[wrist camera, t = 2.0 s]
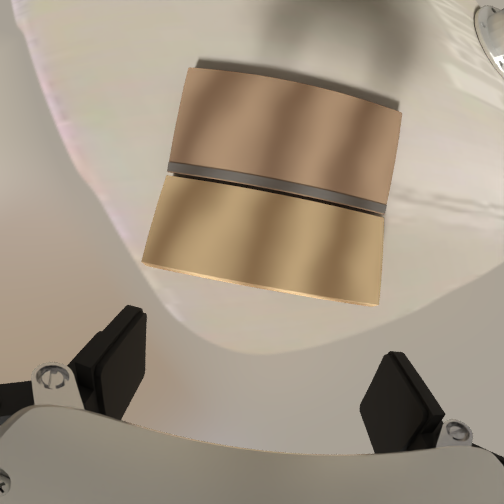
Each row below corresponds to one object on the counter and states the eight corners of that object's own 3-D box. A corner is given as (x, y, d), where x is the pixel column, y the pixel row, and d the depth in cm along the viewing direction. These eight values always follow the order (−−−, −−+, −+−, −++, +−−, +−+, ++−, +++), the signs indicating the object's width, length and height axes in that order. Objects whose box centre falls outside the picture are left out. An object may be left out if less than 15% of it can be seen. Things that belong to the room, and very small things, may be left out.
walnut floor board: (395, 115, 25) (402, 112, 23) (378, 212, 27) (384, 214, 26) (192, 72, 24) (188, 67, 23) (172, 172, 27) (167, 172, 25)
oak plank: (377, 223, 27) (383, 218, 26) (371, 306, 25) (378, 304, 24) (169, 183, 27) (166, 175, 26) (146, 265, 25) (141, 261, 23)
